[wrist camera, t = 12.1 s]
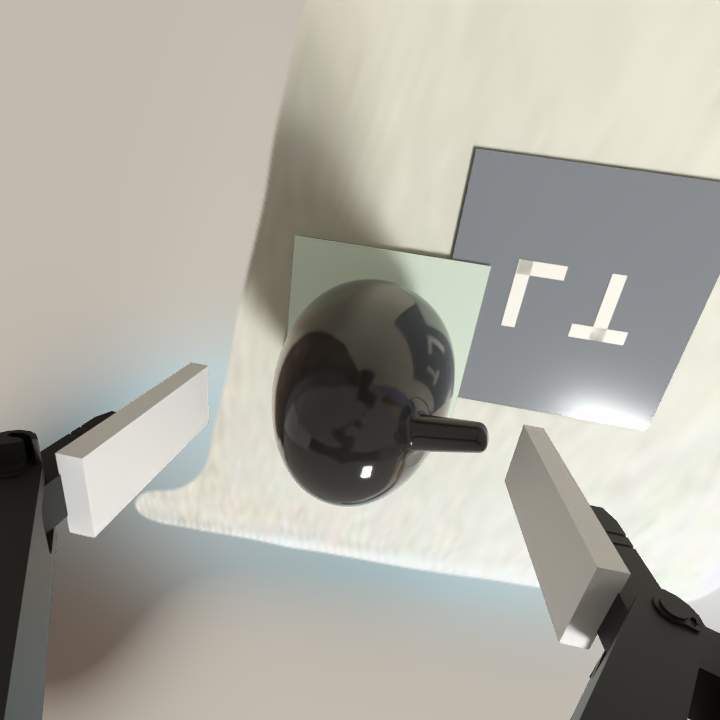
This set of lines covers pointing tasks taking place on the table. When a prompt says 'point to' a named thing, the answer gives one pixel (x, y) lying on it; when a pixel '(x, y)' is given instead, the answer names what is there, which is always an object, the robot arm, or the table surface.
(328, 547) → the table surface
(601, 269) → the tile
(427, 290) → the mat
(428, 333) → the pump dispenser
